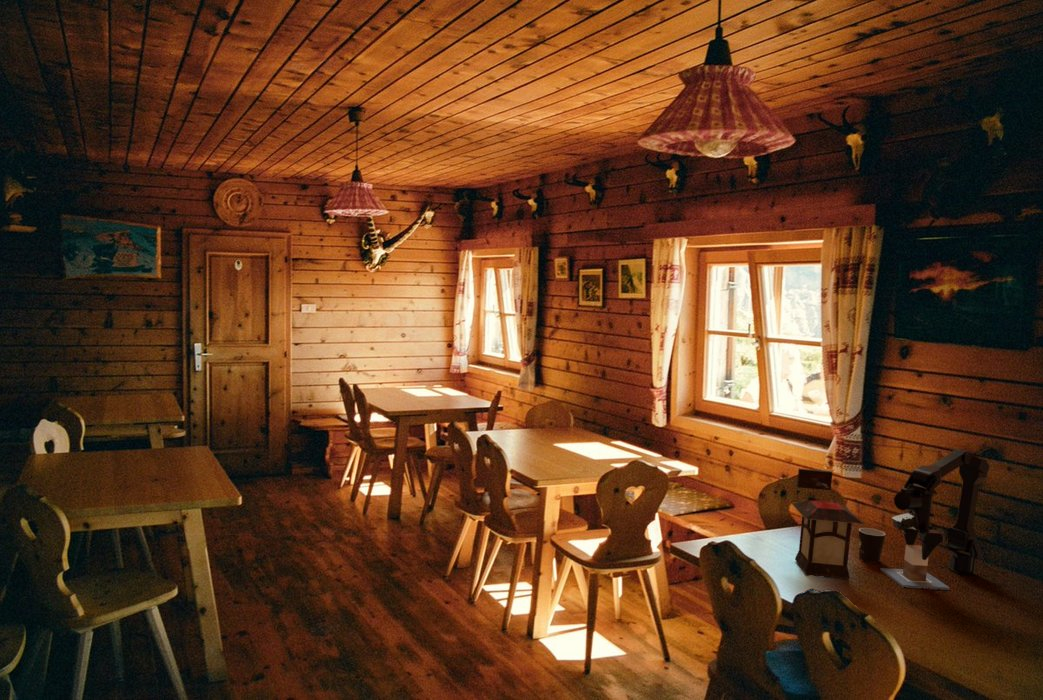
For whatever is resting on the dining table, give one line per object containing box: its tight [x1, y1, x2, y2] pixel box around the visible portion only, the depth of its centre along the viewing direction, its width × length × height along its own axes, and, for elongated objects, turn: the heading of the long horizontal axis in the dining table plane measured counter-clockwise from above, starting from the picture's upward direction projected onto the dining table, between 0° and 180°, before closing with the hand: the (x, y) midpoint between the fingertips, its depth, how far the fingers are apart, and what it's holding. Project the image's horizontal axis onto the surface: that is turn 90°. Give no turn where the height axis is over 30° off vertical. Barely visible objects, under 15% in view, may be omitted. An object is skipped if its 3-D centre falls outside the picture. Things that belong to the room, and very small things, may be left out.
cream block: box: [903, 544, 930, 567], centre depth 255 cm, size 5×5×5 cm
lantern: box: [791, 468, 865, 580], centre depth 261 cm, size 18×26×30 cm
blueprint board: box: [879, 567, 951, 591], centre depth 255 cm, size 15×15×1 cm
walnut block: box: [903, 560, 928, 581], centre depth 255 cm, size 5×5×5 cm
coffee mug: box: [858, 527, 886, 564], centre depth 274 cm, size 12×9×10 cm
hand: (916, 554), depth 255 cm, fingers open, 9 cm apart
